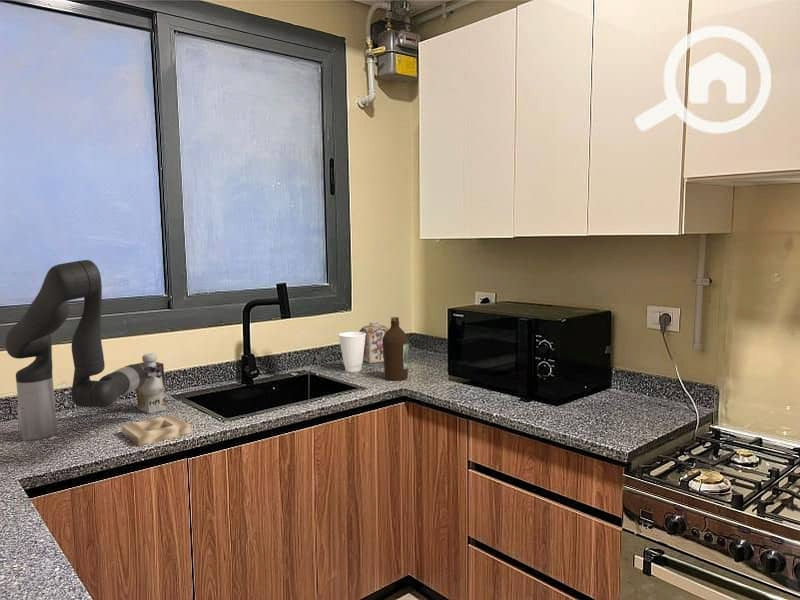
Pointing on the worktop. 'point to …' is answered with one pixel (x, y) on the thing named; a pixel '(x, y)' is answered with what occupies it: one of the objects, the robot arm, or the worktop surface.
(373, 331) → the decorative jar
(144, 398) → the coffee box
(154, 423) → the bore housing
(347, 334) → the cup
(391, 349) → the olive oil
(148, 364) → the salt shaker
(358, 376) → the worktop surface
